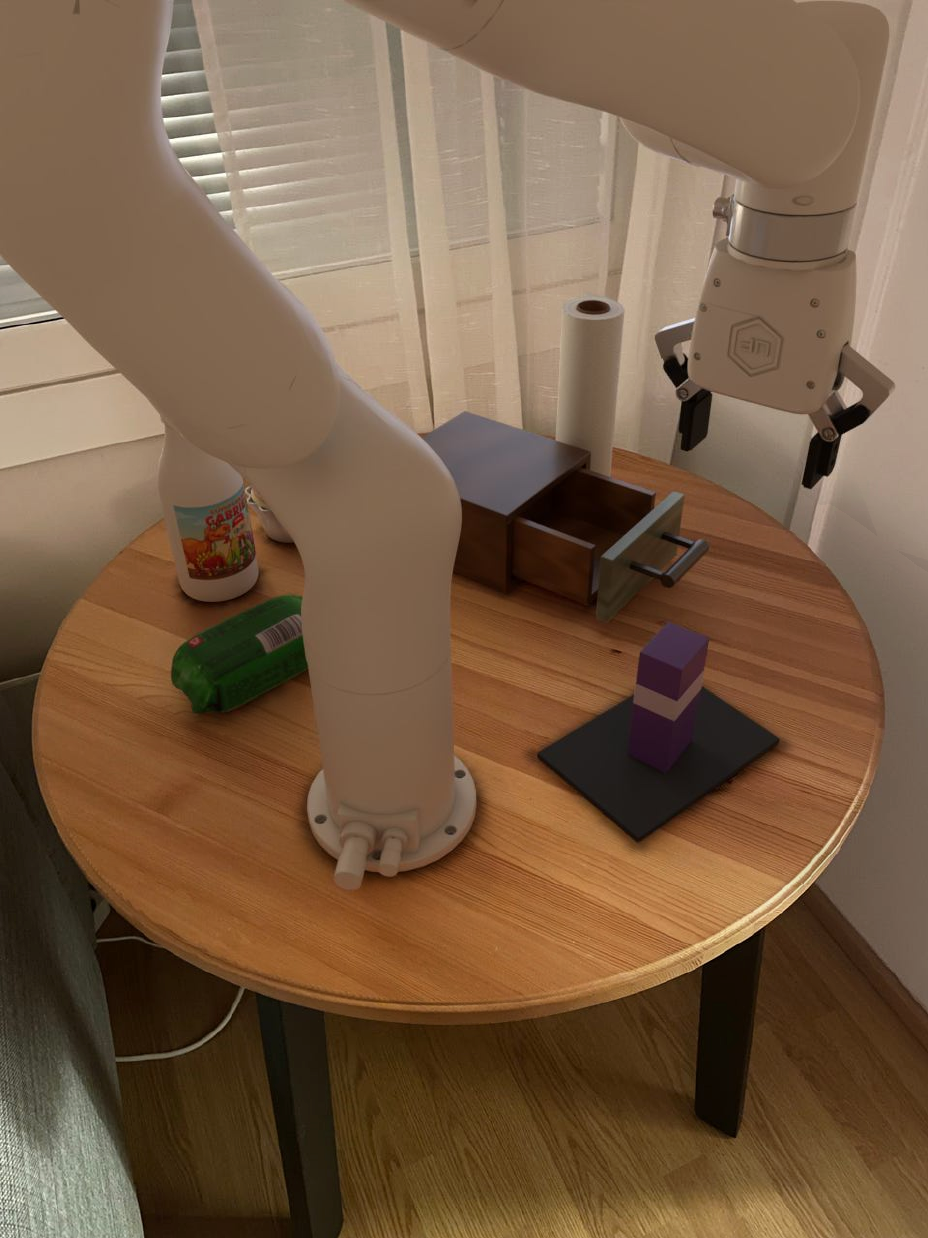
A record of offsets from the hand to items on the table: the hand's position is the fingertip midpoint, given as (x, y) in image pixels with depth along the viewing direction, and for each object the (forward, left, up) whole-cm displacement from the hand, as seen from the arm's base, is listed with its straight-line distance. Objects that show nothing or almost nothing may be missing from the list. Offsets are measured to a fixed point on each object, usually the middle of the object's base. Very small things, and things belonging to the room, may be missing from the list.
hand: (751, 461), depth 75 cm
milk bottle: (+8, +47, -20) cm, 52 cm away
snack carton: (-11, +5, -20) cm, 23 cm away
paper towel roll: (+28, +12, -20) cm, 37 cm away
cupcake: (+18, +42, -20) cm, 50 cm away
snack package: (-5, +39, -20) cm, 44 cm away
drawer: (+12, +10, -19) cm, 25 cm away
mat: (-11, +5, -20) cm, 24 cm away
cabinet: (+19, +22, -20) cm, 36 cm away
